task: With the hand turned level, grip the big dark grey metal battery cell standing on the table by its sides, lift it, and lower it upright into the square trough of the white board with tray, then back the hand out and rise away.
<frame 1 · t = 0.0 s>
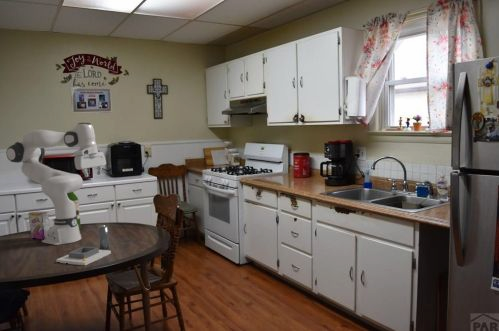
hand: (93, 175, 222), 39 cm above the table, tool pointing down, fingers open, 8 cm apart
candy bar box: (40, 238, 243), on the table
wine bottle: (73, 229, 262), on the table
battery cell: (105, 248, 215), on the table
white board with tray: (84, 257, 201), on the table
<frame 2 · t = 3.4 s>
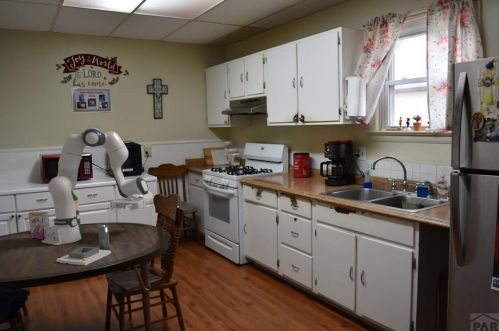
hand: (118, 207, 225), 20 cm above the table, tool horizontal, fingers open, 8 cm apart
nothing on the table moved.
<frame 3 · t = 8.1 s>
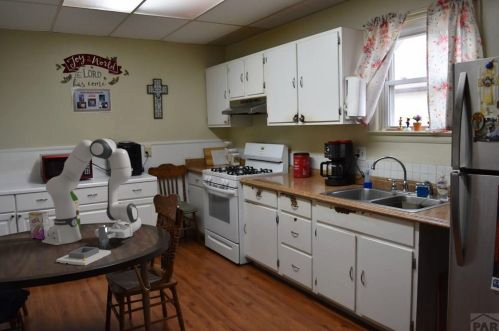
hand: (102, 236, 214), 7 cm above the table, tool horizontal, fingers closed on battery cell, 5 cm apart
battery cell: (105, 248, 215), on the table, touching gripper
everything else where it was.
when the fingers open (10 cm above the table, at t = 13.7 s): battery cell drops 1 cm, resting on white board with tray.
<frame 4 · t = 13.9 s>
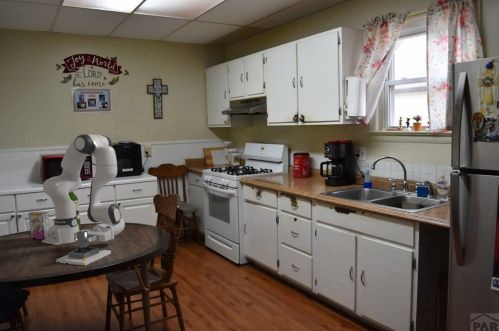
hand: (81, 239, 199), 10 cm above the table, tool horizontal, fingers open, 7 cm apart
battery cell: (84, 254, 201), point 2 cm above the table, touching white board with tray
everything else where it was.
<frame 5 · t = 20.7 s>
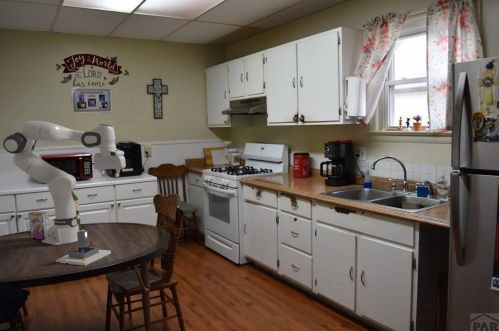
hand: (110, 176, 228), 37 cm above the table, tool pointing down, fingers open, 8 cm apart
nothing on the table moved.
at the end: battery cell 0.0 cm off-centre on the white board with tray, point 1.6 cm above the white board with tray's base; battery cell tilted 1°; the gripper is holding nothing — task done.
